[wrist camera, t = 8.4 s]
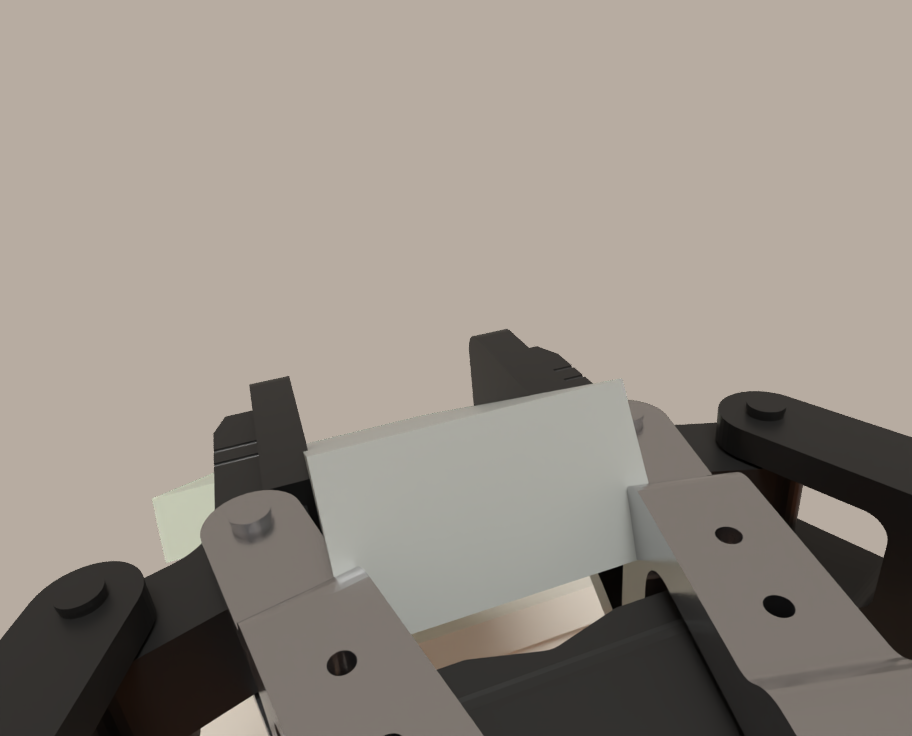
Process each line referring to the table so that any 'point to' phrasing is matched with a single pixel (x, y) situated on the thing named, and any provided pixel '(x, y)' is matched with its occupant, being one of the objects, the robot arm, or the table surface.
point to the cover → (465, 501)
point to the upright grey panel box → (472, 640)
